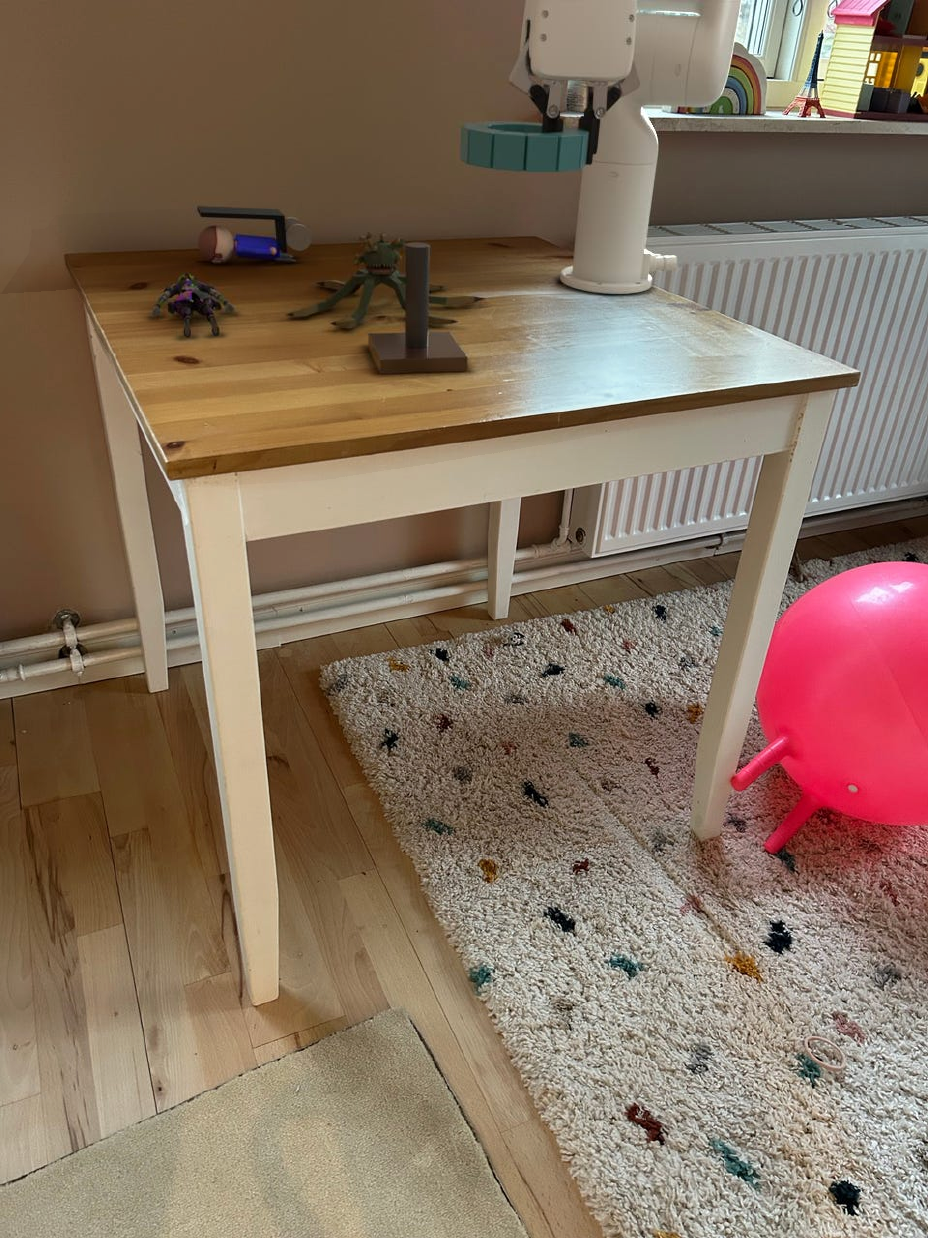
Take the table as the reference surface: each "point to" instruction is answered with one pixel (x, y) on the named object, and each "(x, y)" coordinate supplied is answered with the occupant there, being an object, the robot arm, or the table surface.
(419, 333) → the stand
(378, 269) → the octopus toy
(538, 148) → the ring
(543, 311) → the table surface
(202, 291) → the character figure
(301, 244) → the figurine character
